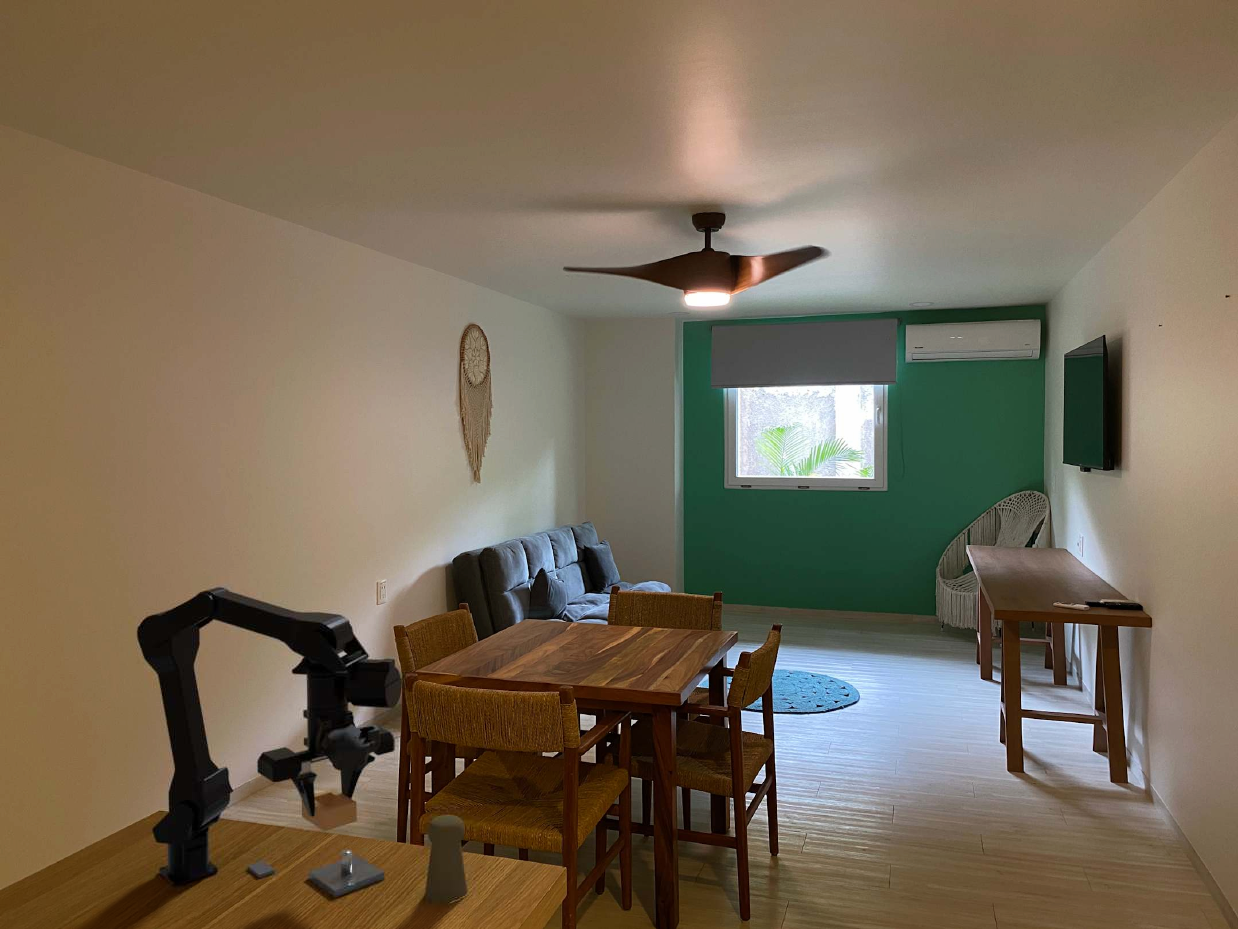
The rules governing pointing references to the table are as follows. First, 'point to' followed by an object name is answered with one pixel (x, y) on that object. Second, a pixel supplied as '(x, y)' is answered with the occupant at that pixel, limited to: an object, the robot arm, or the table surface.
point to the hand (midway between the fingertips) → (329, 810)
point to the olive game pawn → (445, 860)
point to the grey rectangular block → (261, 869)
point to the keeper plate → (346, 874)
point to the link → (331, 810)
